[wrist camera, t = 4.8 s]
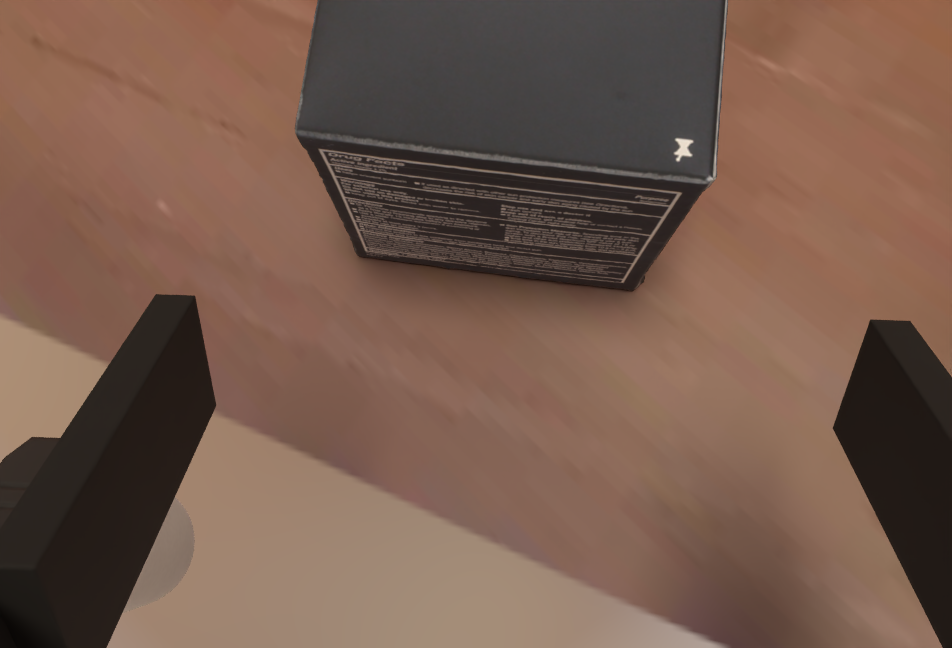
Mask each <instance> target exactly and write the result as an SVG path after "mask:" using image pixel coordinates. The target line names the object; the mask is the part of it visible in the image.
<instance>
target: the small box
mask: <svg viewBox="0 0 952 648" xmlns="http://www.w3.org/2000/svg"><path fill="white" fill-rule="evenodd" d="M727 10H728V0H318V2H317V7H316V11H315V17H314V24H313V29H312V35H311V40H310V45H309V51H308V56H307V60H306V67H305V73H304V79H303V84H302V90H301V96H300V101H299V107H298V112H297V117H296V124H295V133H296V135H297V138H298V139H299V141H300V143H301V145H302V146H303V147H304V148H305V149H306V150H307V151H308V154H309V156H310V158H311V160H312V162H314V164H315V166H316V168H317V170H318V172H319V176H320V177H321V178H322V179H323V183H324V185H325V187H326V190H327V192H328V194H329V196H330V197H331V199H332V201H333V203H334V206H335V208H336V210H337V211H338V214H339V216H340V218H341V220H342V221H343V223H344V227H345V229H346V231H347V232H348V234H349V236H350V239H351V241H352V243H353V247H354V250H355V252H356V254H357V255H358V256H360V257H371V258H378V259H384V260H392V261H399V262H407V263H416V264H423V265H431V266H438V267H445V268H448V269H450V268H454V269H462V270H470V271H478V272H487V273H494V274H501V275H511V276H518V277H521V278H533V279H542V280H550V281H558V282H563V283H574V284H582V285H591V286H601V287H609V288H618V289H626V290H631V291H633V290H634V289H636V288H637V287H638V286H639V285H640V284H642V283H643V282H644V278H645V276H644V275H645V273H646V272H647V271H648V269H649V268H650V266H651V265H652V264H653V262H654V260H655V259H656V258H657V257H658V255H659V254H660V252H661V251H662V250H663V248H664V247H665V245H666V244H667V243H668V241H669V239H670V238H671V237H672V235H673V233H674V232H675V231H676V229H677V228H678V226H679V225H680V223H681V222H682V221H683V220H684V218H685V216H686V215H687V213H688V212H689V211H690V209H691V208H692V206H693V204H694V203H695V202H696V201H697V199H698V197H699V196H700V195H701V193H702V192H703V191H705V190H706V189H707V188H708V187H710V185H711V184H712V183H713V182H714V181H715V179H716V177H717V153H718V136H719V124H720V110H721V99H722V76H723V63H724V51H725V38H726V19H727Z"/></svg>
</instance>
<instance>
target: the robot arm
mask: <svg viewBox="0 0 952 648" xmlns="http://www.w3.org/2000/svg"><path fill="white" fill-rule="evenodd" d="M215 407H216V402H215V397H214V392H213V387H212V381H211V376H210V371H209V366H208V361H207V355H206V350H205V345H204V340H203V335H202V330H201V324H200V319H199V314H198V309H197V304H196V299H195V296H187V295H159V294H156V295H155V296H154V298H153V299H152V301H151V302H150V304H149V305H148V307H147V308H146V310H145V311H144V313H143V314H142V316H141V318H140V319H139V321H138V322H137V324H136V325H135V327H134V328H133V330H132V331H131V333H130V334H129V336H128V337H127V339H126V340H125V342H124V343H123V345H122V346H121V348H120V349H119V351H118V352H117V354H116V355H115V357H114V358H113V360H112V361H111V363H110V364H109V366H108V367H107V369H106V370H105V372H104V373H103V375H102V376H101V378H100V379H99V381H98V382H97V384H96V385H95V387H94V388H93V390H92V391H91V393H90V394H89V396H88V397H87V399H86V400H85V402H84V403H83V405H82V406H81V408H80V409H79V411H78V412H77V414H76V415H75V417H74V418H73V420H72V422H71V423H70V425H69V426H68V427H67V429H66V430H65V432H64V433H63V435H62V436H61V438H44V437H31V438H30V439H29V440H28V441H26V442H25V443H24V444H22V445H21V446H20V447H18V448H17V449H16V450H14V451H13V452H12V453H10V454H9V455H8V456H6V457H5V458H4V459H3V460H2V462H1V463H0V648H106V647H107V645H108V643H109V641H110V639H111V636H112V634H113V632H114V630H115V628H116V625H117V623H118V621H119V619H120V617H121V614H122V612H123V610H124V608H125V606H126V603H127V601H128V599H129V597H130V595H131V592H132V590H133V588H134V586H135V583H136V581H137V579H138V577H139V575H140V572H141V570H142V568H143V566H144V564H145V561H146V559H147V557H148V555H149V553H150V550H151V548H152V546H153V544H154V542H155V539H156V537H157V535H158V533H159V531H160V528H161V526H162V524H163V522H164V520H165V517H166V515H167V513H168V511H169V508H170V506H171V504H172V502H173V500H174V497H175V495H176V493H177V491H178V488H179V486H180V484H181V482H182V480H183V478H184V475H185V473H186V471H187V469H188V467H189V464H190V462H191V460H192V458H193V455H194V453H195V451H196V449H197V447H198V444H199V442H200V440H201V438H202V435H203V433H204V431H205V429H206V427H207V425H208V422H209V420H210V418H211V416H212V414H213V411H214V409H215ZM833 429H834V431H835V433H836V435H837V437H838V439H839V441H840V443H841V445H842V447H843V449H844V451H845V453H846V455H847V457H848V459H849V461H850V463H851V465H852V467H853V469H854V471H855V473H856V475H857V477H858V479H859V481H860V483H861V485H862V487H863V489H864V491H865V493H866V495H867V497H868V499H869V501H870V503H871V505H872V507H873V509H874V511H875V513H876V515H877V517H878V519H879V521H880V523H881V525H882V527H883V529H884V531H885V533H886V535H887V537H888V539H889V541H890V543H891V545H892V547H893V549H894V551H895V553H896V555H897V557H898V559H899V561H900V563H901V565H902V567H903V569H904V571H905V573H906V575H907V577H908V579H909V581H910V583H911V585H912V587H913V589H914V591H915V593H916V595H917V597H918V599H919V601H920V603H921V605H922V607H923V609H924V611H925V613H926V615H927V617H928V619H929V621H930V623H931V625H932V627H933V629H934V631H935V633H936V635H937V637H938V639H939V641H940V643H941V645H942V647H943V648H952V377H951V376H950V374H949V373H948V372H947V370H946V369H945V368H944V366H943V365H942V363H941V362H940V361H939V359H938V358H937V357H936V355H935V354H934V353H933V351H932V350H931V349H930V347H929V346H928V345H927V343H926V342H925V340H924V339H923V338H922V336H921V335H920V334H919V332H918V331H917V330H916V328H915V327H914V326H913V324H912V323H911V322H910V321H894V320H870V322H869V325H868V328H867V331H866V334H865V337H864V340H863V342H862V345H861V348H860V351H859V354H858V357H857V360H856V363H855V366H854V368H853V371H852V374H851V377H850V380H849V383H848V386H847V389H846V392H845V394H844V397H843V400H842V403H841V406H840V409H839V412H838V415H837V418H836V420H835V423H834V426H833Z"/></svg>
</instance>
